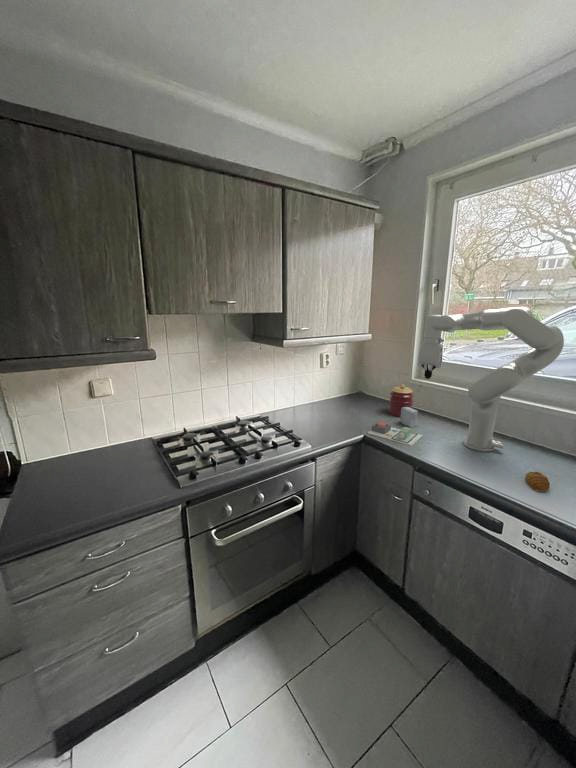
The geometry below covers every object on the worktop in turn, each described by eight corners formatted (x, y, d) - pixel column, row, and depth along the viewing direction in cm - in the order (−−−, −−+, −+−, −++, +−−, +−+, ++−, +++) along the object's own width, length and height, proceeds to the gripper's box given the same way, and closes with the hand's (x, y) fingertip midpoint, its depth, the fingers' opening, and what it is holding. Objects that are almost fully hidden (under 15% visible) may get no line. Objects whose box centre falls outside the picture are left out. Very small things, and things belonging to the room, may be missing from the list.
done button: (387, 429, 161) (387, 423, 160) (383, 431, 157) (383, 426, 157) (379, 426, 163) (379, 421, 163) (375, 429, 160) (375, 424, 159)
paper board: (422, 436, 154) (422, 429, 154) (411, 446, 144) (412, 439, 143) (379, 425, 168) (380, 419, 167) (367, 433, 158) (367, 427, 157)
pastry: (553, 495, 107) (555, 485, 107) (529, 491, 110) (531, 481, 109) (544, 481, 116) (546, 472, 115) (522, 478, 118) (524, 468, 117)
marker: (411, 434, 155) (412, 427, 154) (404, 440, 148) (404, 433, 147) (404, 432, 158) (405, 426, 157) (397, 438, 150) (397, 431, 150)
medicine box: (416, 426, 167) (418, 411, 164) (410, 427, 165) (411, 412, 163) (406, 421, 174) (407, 406, 172) (399, 422, 172) (401, 407, 170)
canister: (383, 411, 189) (386, 383, 185) (400, 408, 194) (402, 380, 190) (399, 418, 178) (402, 388, 173) (416, 415, 183) (419, 385, 178)
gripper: (450, 341, 149) (446, 379, 154) (418, 339, 159) (415, 374, 163) (446, 343, 144) (441, 382, 149) (413, 340, 153) (409, 377, 158)
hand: (427, 378), depth 156 cm, fingers closed
